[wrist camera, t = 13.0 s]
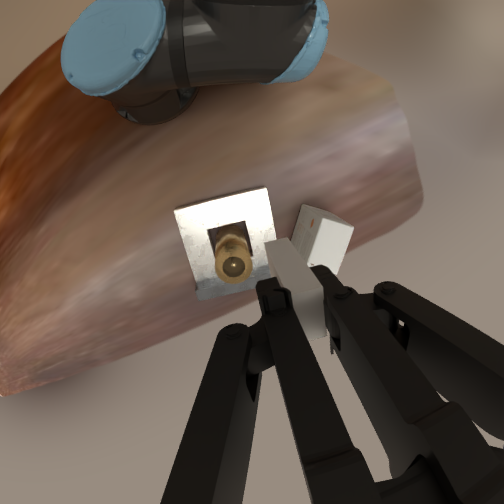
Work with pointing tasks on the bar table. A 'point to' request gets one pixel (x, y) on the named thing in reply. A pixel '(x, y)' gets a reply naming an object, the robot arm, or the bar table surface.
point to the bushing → (232, 255)
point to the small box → (321, 237)
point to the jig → (218, 214)
